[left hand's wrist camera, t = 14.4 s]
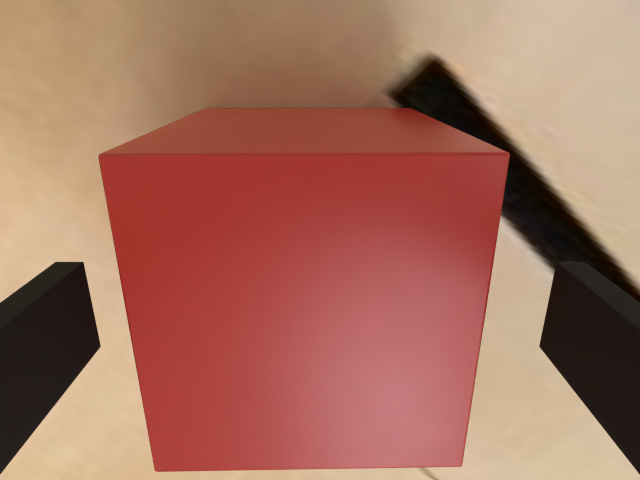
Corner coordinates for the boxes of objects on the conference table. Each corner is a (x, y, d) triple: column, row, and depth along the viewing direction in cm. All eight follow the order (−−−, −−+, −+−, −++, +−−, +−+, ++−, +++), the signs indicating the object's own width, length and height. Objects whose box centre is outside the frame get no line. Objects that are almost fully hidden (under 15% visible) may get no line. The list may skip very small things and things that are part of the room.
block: (220, 297, 23) (153, 472, 13) (203, 108, 19) (95, 153, 10) (398, 296, 23) (462, 468, 13) (411, 107, 19) (511, 152, 10)
